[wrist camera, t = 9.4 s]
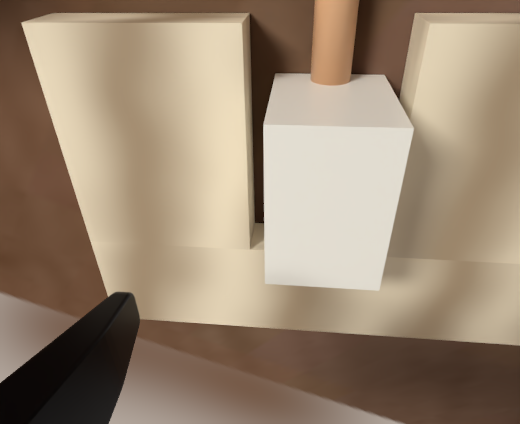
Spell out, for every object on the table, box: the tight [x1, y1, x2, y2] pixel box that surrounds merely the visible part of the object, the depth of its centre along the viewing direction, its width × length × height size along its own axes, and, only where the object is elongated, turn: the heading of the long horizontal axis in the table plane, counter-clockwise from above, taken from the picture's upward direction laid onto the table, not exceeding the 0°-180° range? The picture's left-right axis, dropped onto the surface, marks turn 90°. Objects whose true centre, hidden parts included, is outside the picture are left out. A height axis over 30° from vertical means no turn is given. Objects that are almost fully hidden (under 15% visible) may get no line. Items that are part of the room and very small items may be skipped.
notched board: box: [21, 13, 520, 345], centre depth 17 cm, size 20×14×2 cm
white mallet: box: [263, 0, 414, 291], centre depth 12 cm, size 4×15×5 cm, turn 1°
